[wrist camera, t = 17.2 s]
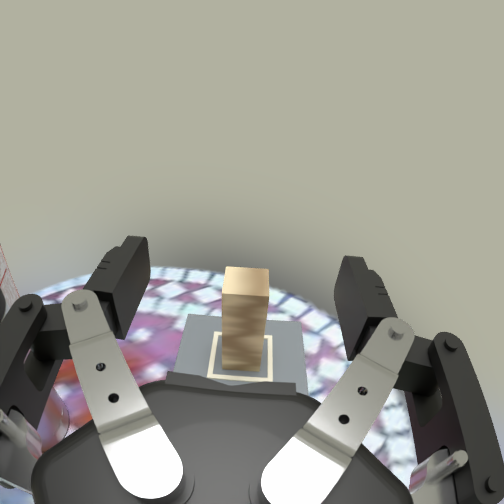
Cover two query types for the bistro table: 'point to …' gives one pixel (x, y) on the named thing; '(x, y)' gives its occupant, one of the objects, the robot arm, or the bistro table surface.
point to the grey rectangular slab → (210, 366)
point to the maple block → (244, 317)
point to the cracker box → (7, 282)
